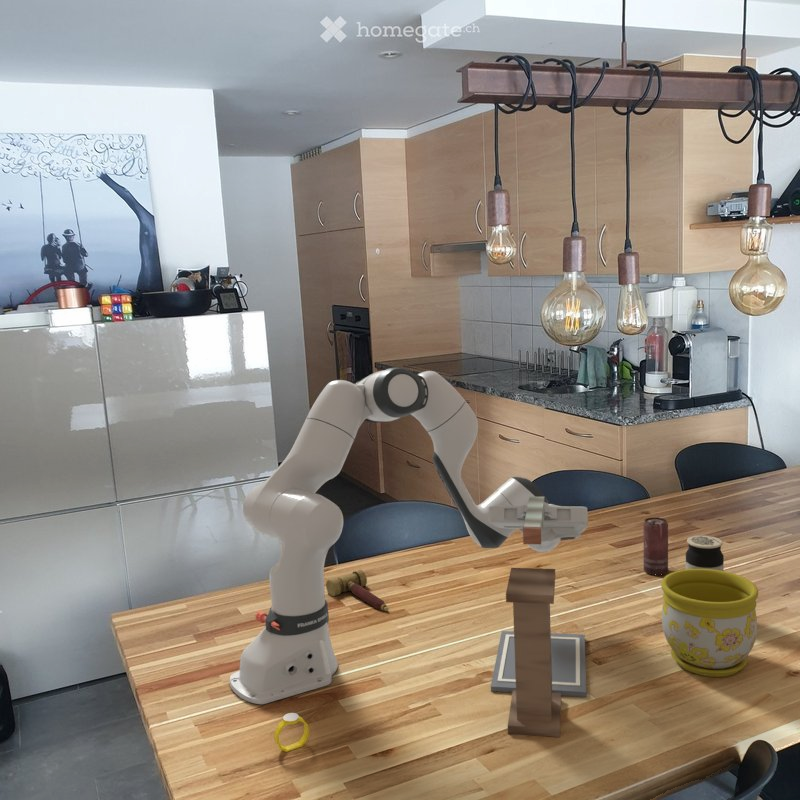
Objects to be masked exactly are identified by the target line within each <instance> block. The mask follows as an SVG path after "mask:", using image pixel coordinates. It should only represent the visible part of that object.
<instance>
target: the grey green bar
mask: <svg viewBox="0 0 800 800" xmlns="http://www.w3.org/2000/svg"><path fill="white" fill-rule="evenodd" d="M544 505H545V502H544V497H529V502H528V507H527V512H526V517H525V523H524V527H523V536H522V541H523V543H522V544H523V545H527V544H540V545H541V537H542V529H543V521H544Z"/></svg>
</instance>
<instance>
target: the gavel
mask: <svg viewBox="0 0 800 800" xmlns="http://www.w3.org/2000/svg"><path fill="white" fill-rule="evenodd" d="M367 581H368V578H367V575H366V573H365V572H364V570H363V569H357V570H354V571H353V572H352V573H349V574H346V575H341V576H339V577H332V578H328V579H327V580H326V583H325V589H326V591H327V594H328V595H329V594H330V596H331V597H336V596H340V594H341V593H343V594H344V593H345V592H349V591H351V592H352V594H353V595H354V596H356V597H358V598H360V600H362V601H364V602H366V604H368V605H370V606H371V607H373V608H374V609H375V610H378V609H379V611H383V612H388V611H389V607H388V605H387V604H386V603H385V601H384V600H383V599H381V598H380V597H378V596H376V595H375V594H374V593H372V592H370V591H369V590H367V589H366V588H364V586H365V587H366V586H367V583H368V582H367Z"/></svg>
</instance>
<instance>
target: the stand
mask: <svg viewBox="0 0 800 800" xmlns="http://www.w3.org/2000/svg"><path fill="white" fill-rule="evenodd" d="M555 588H556V568H538V567H537V568H534V567H532V568H530V567H529V568H528V567H511V568H510V572H509V578H508V581H507V586H506V591H505V603H512V608H513V610H512V611H513V616H512V617H513V631H514V645H515V675H516V690H513V692H511V700H510V707H509V713H508V714H509V715H508V722H507V734H510V735H512V734H513V735H524V736H526V735H527V736H536V737H537V736H539V737H554V738H561V721H562V720H561V717H562V716H561V715H562V696H561V693H552V665H551V633H552V632H551V605H554V604H555V592H556V591H555V590H556V589H555Z"/></svg>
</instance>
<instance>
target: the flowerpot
mask: <svg viewBox="0 0 800 800" xmlns="http://www.w3.org/2000/svg"><path fill="white" fill-rule="evenodd" d="M660 586H661V589H662V591H663V592H662V598H663V603H662V612H661V624H662V632H663V634H664V638H665V640H666V641H667V644H668V646H670V648H671V649H670V654H671V657H672V658H673V660H674V661H676V663H677V664H678V665H679V667H681V668H683V669H684V670H686V671H688V672H690V673H693V674H696V675H699V676H703V677H704V676H705V677H711V678H712V677H713V678H721V677H728V676H732V675H735V674H737V673H739V671H740V670H741V669H743V668H744V667H745V666H746V665H747V661H748V659H747V657H748V655H749V654H750V653H751V651H752V650H753V648H754V645H755V643H756V639H757V635H758V619H757V612H756V608H757V601H756V600H757V599H758V597H759V589H758V587H757V585H755V583H754V582H753V581H751V580H750V579H748V578H746V577H744V576H742V575H739V574H736V573H733V572H730V571H724V570H723V571H720V570H713V569H686V568H685V569H682V570H676V571H673V572H670V573H668V574H666V575H664V576H663V578H662V580H661V585H660Z"/></svg>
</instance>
